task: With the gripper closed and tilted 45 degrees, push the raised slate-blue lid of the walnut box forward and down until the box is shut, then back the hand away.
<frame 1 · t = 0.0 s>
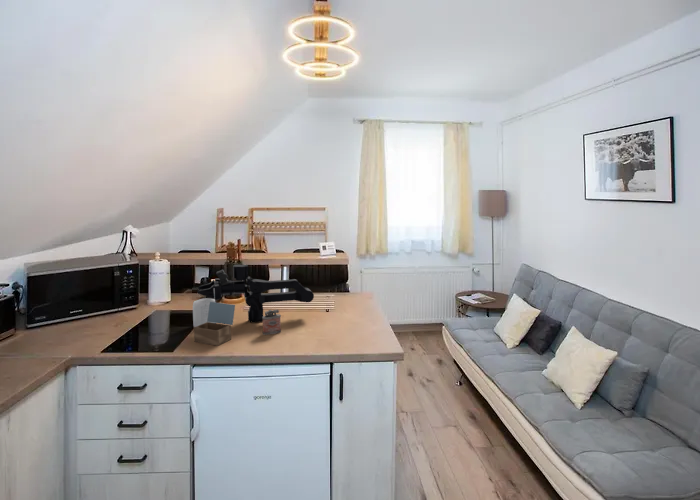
hand: (197, 289, 191), 17 cm above the table, tool horizontal, fingers open, 9 cm apart
walnut box: (212, 340, 173), on the table
lighter: (271, 333, 183), on the table
photo printer: (205, 325, 194), on the table
lid: (221, 313, 177), point 10 cm above the table, hinge at 105.0°
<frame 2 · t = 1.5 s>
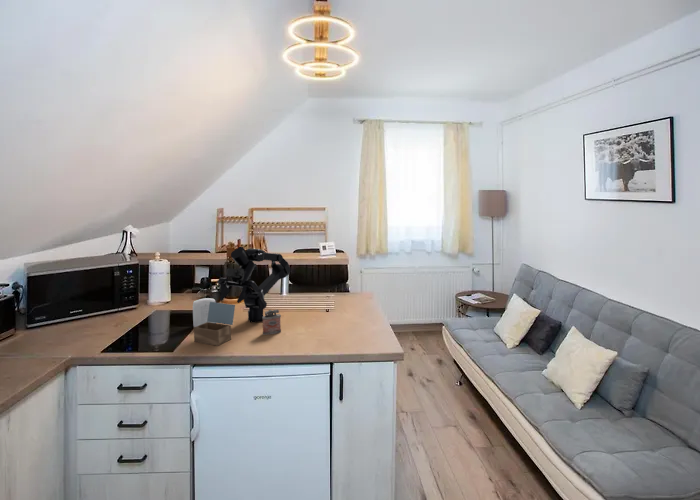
hand: (229, 301, 182), 14 cm above the table, tool tilted 45°, fingers open, 9 cm apart
nothing on the table moved.
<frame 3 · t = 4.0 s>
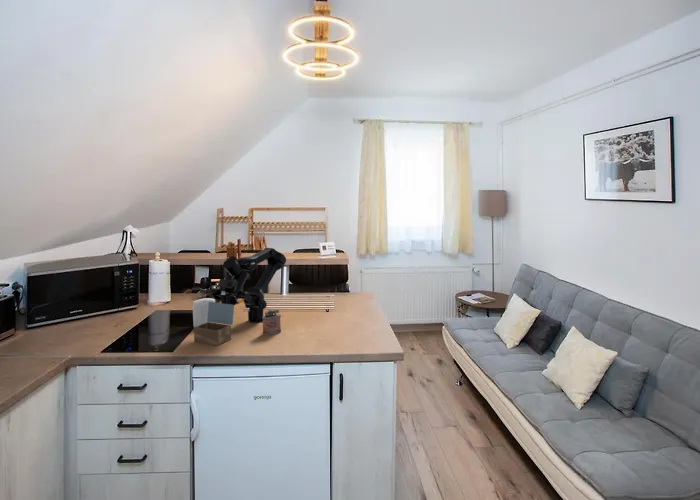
hand: (221, 312, 177), 10 cm above the table, tool tilted 45°, fingers closed, pressing on lid
lid: (220, 313, 177), point 10 cm above the table, hinge at 100.5°, touching gripper
everything else where it was.
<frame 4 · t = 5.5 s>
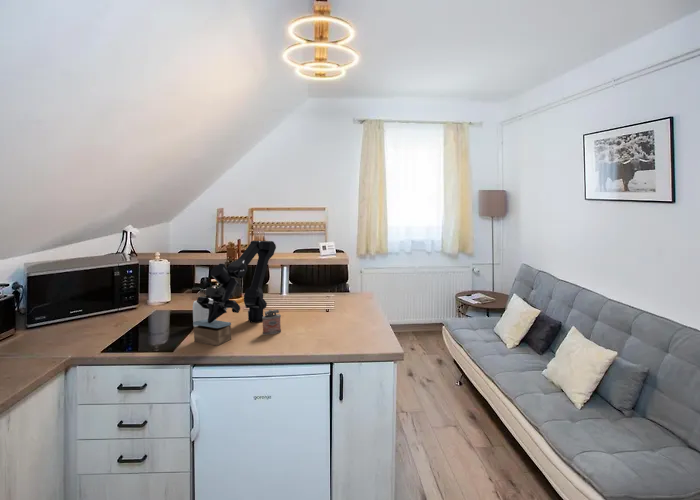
hand: (208, 322, 170), 8 cm above the table, tool tilted 45°, fingers closed, pressing on lid
lid: (212, 323, 172), point 7 cm above the table, hinge at 7.5°, touching gripper
everything else where it was.
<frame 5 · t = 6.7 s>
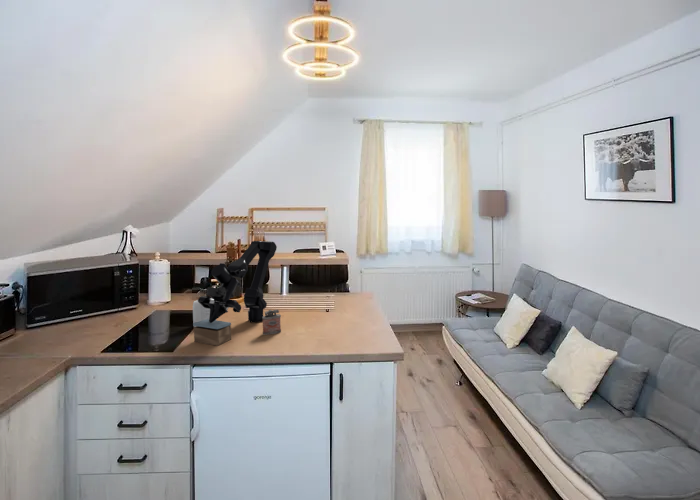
hand: (210, 322, 171), 8 cm above the table, tool tilted 45°, fingers closed
lid: (212, 324, 172), point 7 cm above the table, hinge at 4.6°
everything else where it was.
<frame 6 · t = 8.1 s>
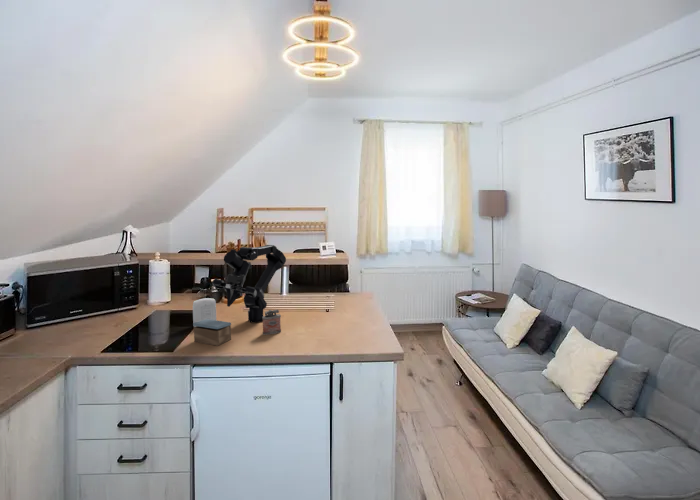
hand: (228, 306, 181), 12 cm above the table, tool tilted 35°, fingers closed
nothing on the table moved.
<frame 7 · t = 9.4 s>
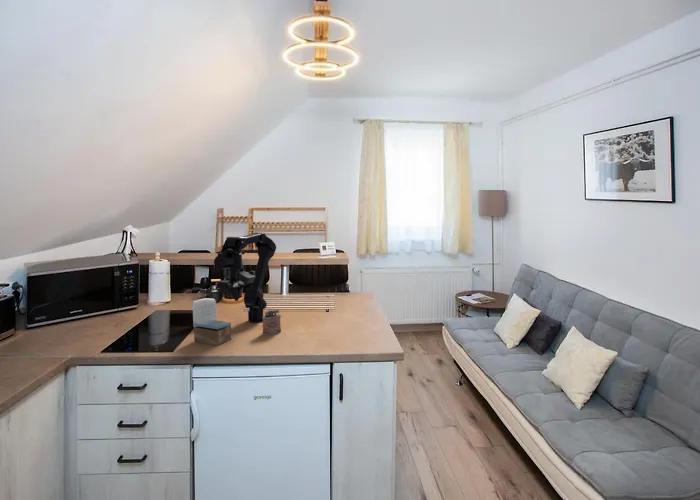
hand: (236, 300, 186), 13 cm above the table, tool pointing down, fingers closed
nothing on the table moved.
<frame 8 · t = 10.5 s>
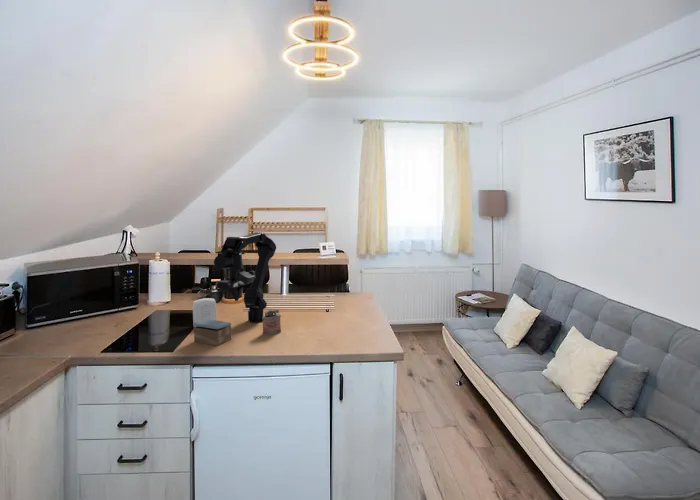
hand: (236, 300, 186), 13 cm above the table, tool pointing down, fingers closed
nothing on the table moved.
at the end: lid at +4° (first picture: +105°) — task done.
